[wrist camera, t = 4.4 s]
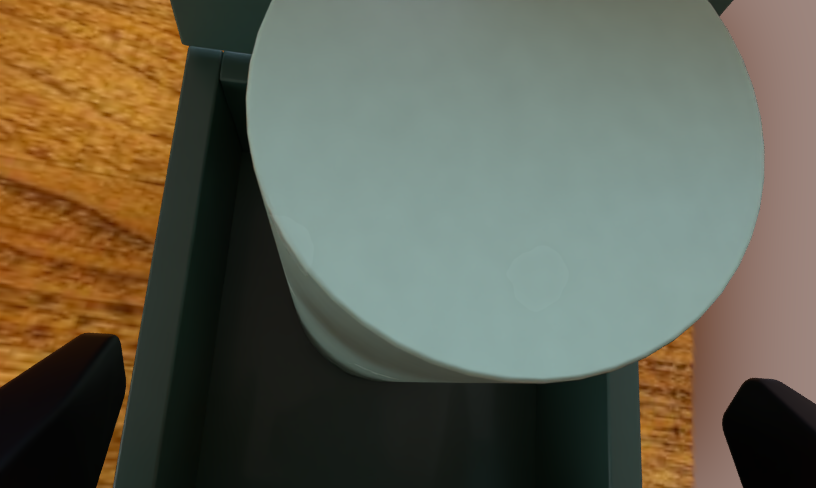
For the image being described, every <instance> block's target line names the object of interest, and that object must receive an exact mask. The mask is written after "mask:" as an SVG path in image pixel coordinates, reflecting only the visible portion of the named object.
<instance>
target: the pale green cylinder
mask: <svg viewBox="0 0 816 488" xmlns="http://www.w3.org/2000/svg"><path fill="white" fill-rule="evenodd" d="M246 118H247V135H248V141H249V146H250V152H251V157H252V162H253V168H254V171H255V175H256V178H257V182H258V185H259V188H260V192H261V195H262V198H263V202H264V205H265V208H266V212H267V215H268V219H269V222H270V225H271V229H272V232H273V235H274V239H275V242H276V245H277V249H278V252H279V256H280V259H281V262H282V266H283V269H284V272H285V276H286V279H287V282H288V286H289V289H290V293H291V296H292V299H293V303H294V306H295V309H296V313H297V316H298V319H299V322H300V324H301V326H302V328H303V330H304V332H305V334H306V336H307V338H308V339H309V341H310V342H311V343H312V345H313V346H314V347H315V348H316V350H317V351H318V352H319V353H320V354H321V355H322V356H323V357H324V358H325V359H327V360H328V361H329V362H330V363H331V364H333V365H334V366H336V367H338V368H339V369H341V370H342V371H345V372H347V373H349V374H351V375H353V376H356V377H359V378H363V379H366V380H372V381H381V382H446V383H528V384H545V383H554V382H564V381H573V380H581V379H585V378H589V377H592V376H596V375H600V374H604V373H608V372H612V371H615V370H617V369H620V368H622V367H625V366H627V365H629V364H632V363H634V362H636V361H639V360H641V359H643V358H646V357H647V356H649V355H651V354H652V353H654V352H656V351H657V350H659V349H661V348H662V347H664V346H665V345H667V344H669V343H670V342H672V341H674V340H675V339H676V338H677V337H679V336H680V335H681V334H682V333H683V332H684V331H686V330H687V329H688V328H689V327H690V326H692V325H693V324H694V323H695V322H696V321H697V320H699V319H700V318H701V316H702V315H703V314H704V313H705V312H706V310H708V308H709V307H710V306H711V305H712V304H713V303H714V301H715V300H716V299H717V298H718V297H719V296H720V295H721V293H722V292H723V290H724V289H725V287H726V286H727V284H728V283H729V281H730V279H731V278H732V276H733V275H734V273H735V272H736V270H737V268H738V267H739V265H740V263H741V260H742V258H743V256H744V254H745V251H746V249H747V247H748V245H749V243H750V240H751V238H752V234H753V231H754V227H755V224H756V220H757V217H758V213H759V210H760V204H761V197H762V189H763V183H764V140H763V133H762V124H761V116H760V112H759V108H758V104H757V100H756V96H755V92H754V88H753V85H752V83H751V80H750V77H749V74H748V72H747V69H746V66H745V64H744V61H743V59H742V56H741V54H740V53H739V51H738V49H737V47H736V45H735V43H734V41H733V39H732V37H731V35H730V33H729V31H728V29H727V28H726V26H725V25H724V23H723V22H722V20H721V19H720V17H719V16H718V14H717V12H716V11H715V9H714V8H713V6H712V5H711V4H710V2H709V1H708V0H272V1H271V3H270V5H269V7H268V10H267V12H266V14H265V17H264V19H263V21H262V24H261V26H260V28H259V31H258V33H257V37H256V41H255V45H254V49H253V52H252V56H251V60H250V64H249V72H248V82H247V91H246Z"/></svg>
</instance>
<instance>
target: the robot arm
mask: <svg viewBox="0 0 816 488" xmlns="http://www.w3.org/2000/svg"><path fill="white" fill-rule="evenodd" d="M125 389H126V377H125V370H124V363H123V356H122V349H121V343H120V340H119V338H118V337H117V336H115V335H113V334H100V333H84V334H81V335H79V336H78V337H76V338H75V339H73V340H72V341H70V342H68V343H67V344H65V345H64V346H62V347H61V348H59V349H58V350H56V351H55V352H53V353H52V354H50V355H49V356H47V357H46V358H44V359H43V360H41V361H40V362H38V363H37V364H35V365H34V366H32V367H31V368H29V369H28V370H26V371H25V372H23V373H22V374H20V375H19V376H17V377H16V378H14V379H13V380H11V381H10V382H8V383H6V384H5V385H3V386H2V387H0V488H96V486H97V483H98V480H99V476H100V473H101V470H102V467H103V464H104V460H105V457H106V454H107V451H108V447H109V444H110V441H111V438H112V435H113V431H114V428H115V425H116V422H117V418H118V415H119V412H120V409H121V406H122V402H123V399H124V395H125ZM722 426H723V431H724V435H725V437H726V440H727V443H728V446H729V449H730V452H731V455H732V457H733V460H734V463H735V466H736V469H737V471H738V474H739V477H740V480H741V483H742V486H743V488H816V404H815V403H813V402H812V401H810V400H808V399H807V398H805V397H804V396H802V395H801V394H799V393H797V392H796V391H794V390H793V389H791V388H790V387H788V386H786V385H785V384H783V383H782V382H780V381H777V380H774V379H762V378H750V379H748V380H746V381H745V382H744V383H743V384H742V385H741V387H740V389H739V390H738V392H737V394H736V395H735V397H734V399H733V400H732V402H731V403H730V405H729V406H728V408H727V410H726V412H725V413H724V415H723V419H722Z"/></svg>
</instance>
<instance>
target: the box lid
mask: <svg viewBox="0 0 816 488" xmlns="http://www.w3.org/2000/svg"><path fill="white" fill-rule="evenodd" d="M170 1H171V5H172V9H173V12H174V16H175V20H176V23H177V27H178V31H179V34H180V38H181V42H182V44H184V45H187V46H195V47H202V48H209V49H217V50H224V51H231V52H239V53H246V54H252V52H253V49H254V45H255V41H256V37H257V33H258V31H259V28H260V26H261V24H262V21H263V19H264V17H265V14H266V12H267V10H268V7H269V5H270V3H271V1H272V0H170ZM708 1H709V2H710V4H711V5H712V6H713V8H714V9H715V11H716V12H717V14H718V16H720V15H721V14H722V13H723V11H724V10H725V9H726V8H727V7H728V6H729V5H730V4H731V2H732V1H733V0H708Z"/></svg>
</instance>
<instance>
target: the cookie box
mask: <svg viewBox="0 0 816 488" xmlns="http://www.w3.org/2000/svg"><path fill="white" fill-rule="evenodd" d="M251 56H252V54H246V53H239V52H231V51H224V53H223V51H221V50H217V49H209V48H202V47H195V46H189V48H188V53H187V59H186V64H185V70H184V76H183V82H182V88H181V94H180V99H179V105H178V111H177V117H176V123H175V129H174V134H173V140H172V146H171V152H170V158H169V163H168V169H167V175H166V181H165V187H164V193H163V198H162V204H161V210H160V216H159V222H158V228H157V233H156V239H155V245H154V251H153V257H152V263H151V268H150V274H149V280H148V286H147V292H146V297H145V303H144V309H143V315H142V321H141V327H140V332H139V338H138V344H137V350H136V356H135V362H134V367H133V373H132V379H131V385H130V391H129V396H128V402H127V408H126V414H125V420H124V426H123V431H122V437H121V443H120V449H119V455H118V461H117V466H116V472H115V478H114V484H113V488H642V469H641V437H640V405H639V374H638V361H636V362H634V363H632V364H629V365H627V366H625V367H622V368H620V369H617V370H615V371H612V372H608V373H604V374H600V375H596V376H592V377H589V378H585V379H581V380H573V381H564V382H554V383H545V384H528V383H446V382H381V381H372V380H366V379H363V378H359V377H356V376H353V375H351V374H349V373H347V372H345V371H342V370H341V369H339V368H338V367H336V366H334V365H333V364H331V363H330V362H329V361H328V360H327V359H325V358H324V357H323V356H322V355H321V354H320V353H319V352H318V351H317V350H316V348H315V347H314V346H313V345H312V343H311V342H310V341H309V339H308V338H307V336H306V334H305V332H304V330H303V328H302V326H301V324H300V322H299V319H298V316H297V313H296V309H295V306H294V303H293V299H292V296H291V293H290V289H289V286H288V282H287V279H286V276H285V272H284V269H283V266H282V262H281V259H280V256H279V252H278V249H277V245H276V242H275V239H274V235H273V232H272V229H271V225H270V222H269V219H268V215H267V212H266V208H265V205H264V202H263V198H262V195H261V192H260V188H259V185H258V182H257V178H256V175H255V171H254V168H253V162H252V157H251V152H250V146H249V141H248V135H247V118H246V91H247V82H248V72H249V64H250V60H251Z"/></svg>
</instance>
